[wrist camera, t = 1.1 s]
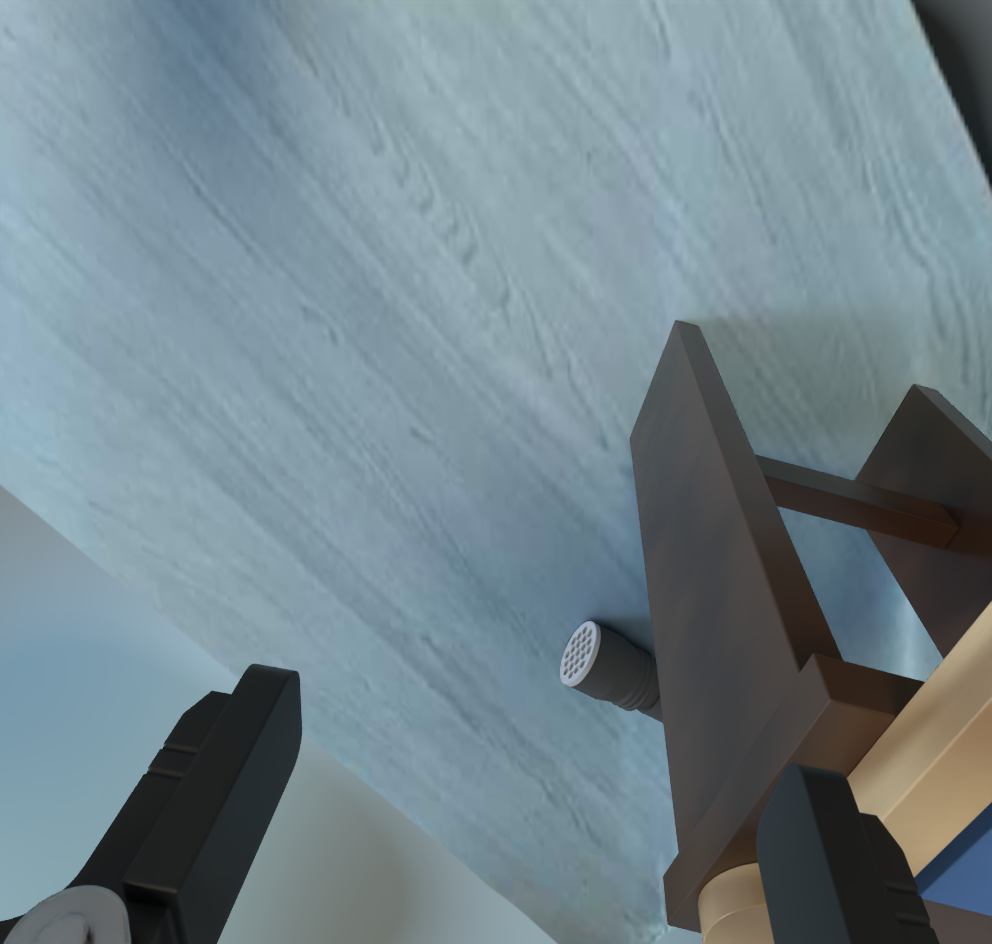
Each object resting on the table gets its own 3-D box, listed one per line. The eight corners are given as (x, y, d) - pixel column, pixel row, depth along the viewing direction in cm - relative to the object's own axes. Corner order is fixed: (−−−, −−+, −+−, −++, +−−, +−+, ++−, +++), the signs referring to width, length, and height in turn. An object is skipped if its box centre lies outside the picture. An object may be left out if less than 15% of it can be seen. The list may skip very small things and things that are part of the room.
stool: (862, 513, 50) (1196, 1057, 23) (622, 450, 50) (666, 925, 22) (948, 376, 44) (1532, 880, 17) (678, 303, 44) (831, 700, 17)
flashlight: (746, 685, 60) (759, 737, 55) (706, 720, 62) (716, 772, 58) (595, 608, 57) (596, 656, 53) (560, 648, 60) (558, 697, 55)
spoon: (813, 958, 22) (828, 1017, 21) (675, 924, 22) (681, 980, 21) (1319, 452, 12) (1409, 501, 11) (1072, 386, 12) (1134, 427, 11)
